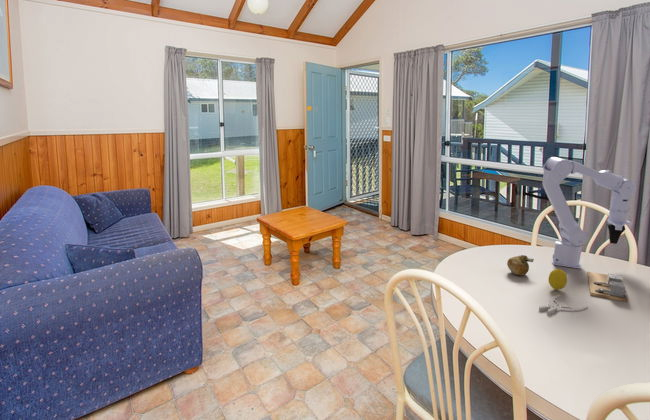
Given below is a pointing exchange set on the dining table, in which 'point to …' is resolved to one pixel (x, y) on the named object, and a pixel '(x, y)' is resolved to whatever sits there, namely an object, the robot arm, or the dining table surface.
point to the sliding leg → (611, 279)
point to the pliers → (553, 308)
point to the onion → (519, 264)
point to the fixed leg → (615, 289)
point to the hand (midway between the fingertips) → (613, 243)
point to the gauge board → (601, 286)
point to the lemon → (557, 279)
